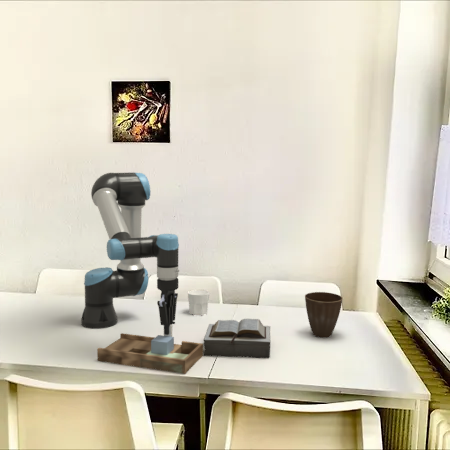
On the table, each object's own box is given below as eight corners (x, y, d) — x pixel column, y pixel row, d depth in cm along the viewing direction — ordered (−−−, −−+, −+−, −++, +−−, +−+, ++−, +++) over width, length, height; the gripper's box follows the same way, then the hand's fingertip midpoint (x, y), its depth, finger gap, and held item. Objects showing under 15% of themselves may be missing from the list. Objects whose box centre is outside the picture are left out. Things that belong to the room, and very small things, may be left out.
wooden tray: (97, 361, 179) (97, 348, 178) (121, 344, 195) (121, 333, 194) (185, 373, 169) (185, 360, 168) (203, 355, 185) (203, 343, 184)
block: (151, 352, 179) (151, 340, 178) (158, 347, 184) (158, 335, 184) (167, 355, 177) (166, 342, 176) (173, 349, 183) (173, 336, 182)
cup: (208, 316, 231) (209, 295, 230) (186, 316, 231) (186, 294, 230) (209, 310, 241) (210, 289, 240) (188, 309, 241) (188, 289, 240)
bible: (267, 364, 178) (267, 337, 177) (193, 355, 185) (194, 329, 184) (278, 342, 201) (279, 317, 199) (212, 335, 208) (212, 311, 206)
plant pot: (347, 334, 208) (349, 296, 206) (328, 344, 198) (329, 303, 196) (316, 326, 219) (318, 290, 217) (296, 335, 208) (297, 296, 206)
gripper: (170, 282, 174) (170, 349, 176) (184, 274, 186) (184, 337, 189) (150, 281, 176) (150, 347, 179) (165, 273, 188) (165, 335, 191)
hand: (168, 342), depth 184 cm, fingers closed
